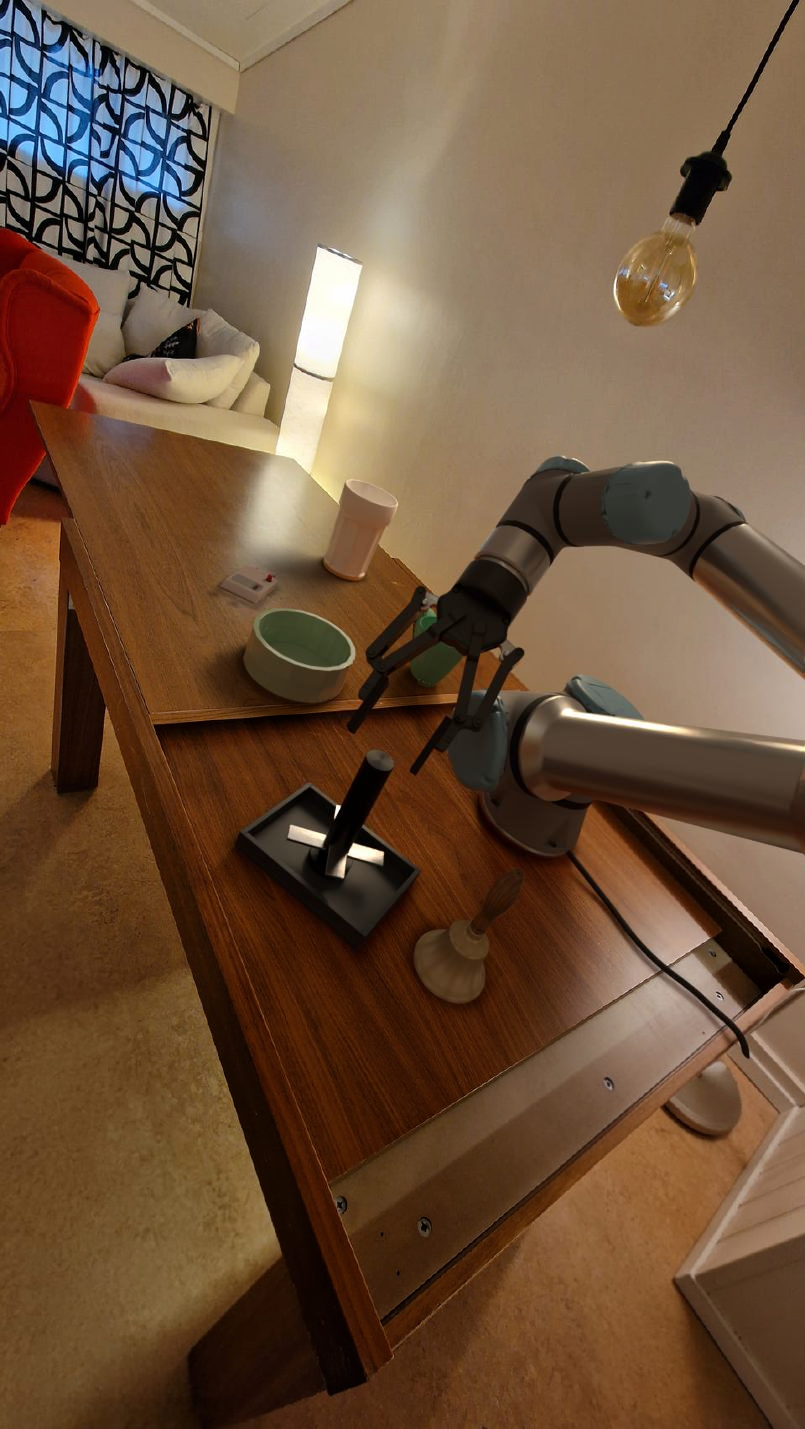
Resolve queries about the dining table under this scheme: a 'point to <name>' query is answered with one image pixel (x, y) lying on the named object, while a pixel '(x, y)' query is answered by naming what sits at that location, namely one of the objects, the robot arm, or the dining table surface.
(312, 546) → the dining table surface
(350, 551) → the cup
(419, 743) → the dining table surface
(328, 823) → the tray
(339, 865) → the blade
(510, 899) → the hand bell
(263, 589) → the remote control
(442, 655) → the mug
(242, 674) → the dining table surface
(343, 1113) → the dining table surface
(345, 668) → the green bowl
